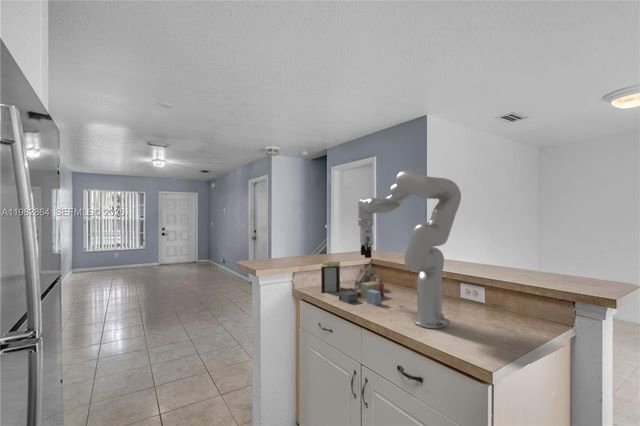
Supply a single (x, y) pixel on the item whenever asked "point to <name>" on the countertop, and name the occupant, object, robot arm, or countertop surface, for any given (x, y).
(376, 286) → the book
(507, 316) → the countertop surface
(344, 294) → the dark grey block
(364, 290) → the book
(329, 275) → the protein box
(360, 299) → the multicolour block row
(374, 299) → the book
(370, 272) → the ceramic cottage
